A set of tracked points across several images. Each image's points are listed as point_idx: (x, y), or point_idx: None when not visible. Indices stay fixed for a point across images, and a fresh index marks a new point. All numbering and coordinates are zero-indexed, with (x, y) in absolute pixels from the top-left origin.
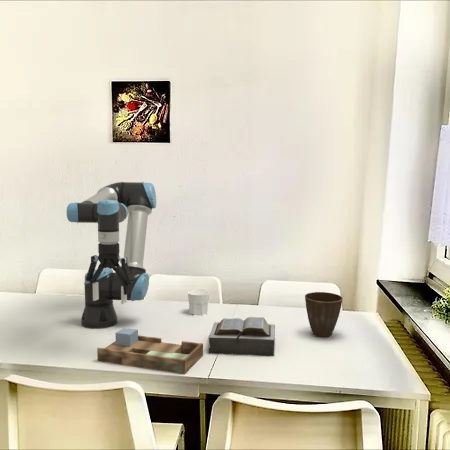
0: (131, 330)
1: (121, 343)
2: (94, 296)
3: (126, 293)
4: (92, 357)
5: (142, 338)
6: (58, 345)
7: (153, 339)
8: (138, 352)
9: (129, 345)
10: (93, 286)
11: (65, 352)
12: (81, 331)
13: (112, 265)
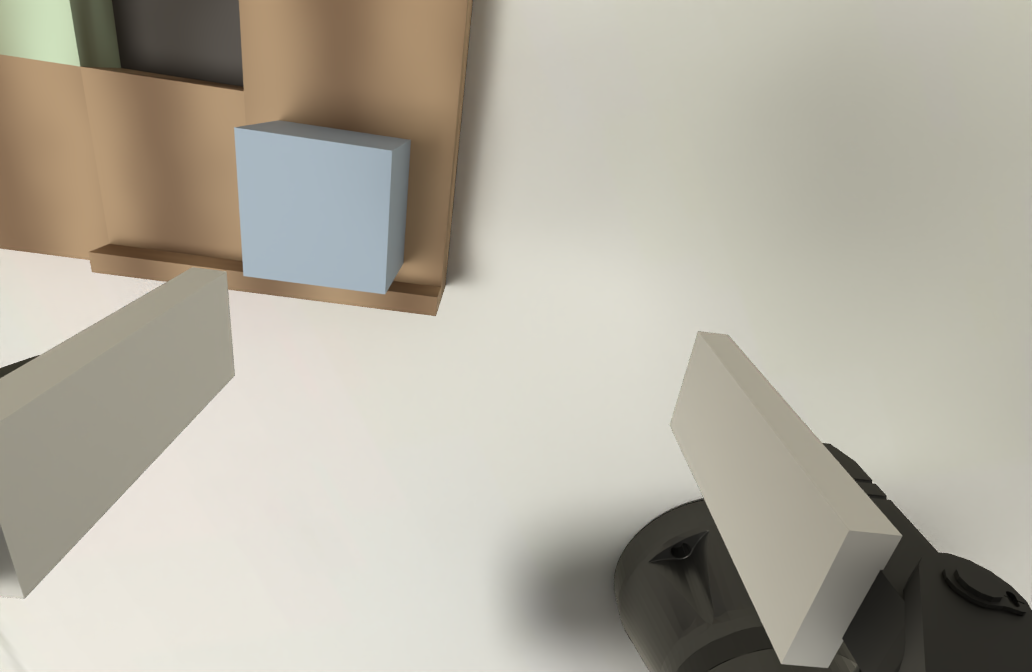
0: (285, 243)
1: (353, 132)
2: (725, 364)
3: (15, 367)
4: (548, 3)
5: None
6: (869, 189)
7: (153, 257)
8: (206, 83)
9: (283, 122)
10: (834, 480)
11: (782, 64)
12: None
13: None
